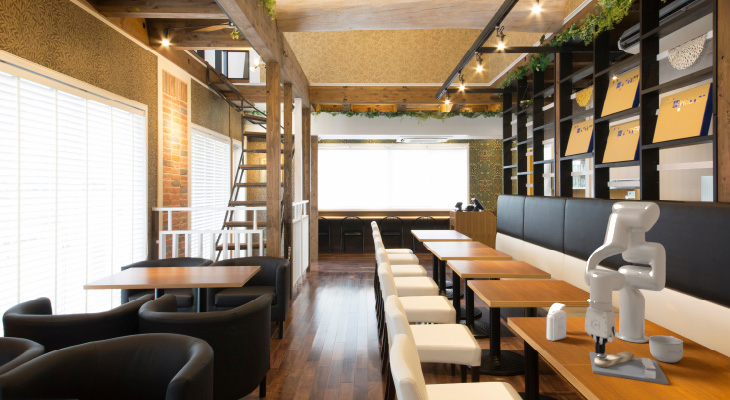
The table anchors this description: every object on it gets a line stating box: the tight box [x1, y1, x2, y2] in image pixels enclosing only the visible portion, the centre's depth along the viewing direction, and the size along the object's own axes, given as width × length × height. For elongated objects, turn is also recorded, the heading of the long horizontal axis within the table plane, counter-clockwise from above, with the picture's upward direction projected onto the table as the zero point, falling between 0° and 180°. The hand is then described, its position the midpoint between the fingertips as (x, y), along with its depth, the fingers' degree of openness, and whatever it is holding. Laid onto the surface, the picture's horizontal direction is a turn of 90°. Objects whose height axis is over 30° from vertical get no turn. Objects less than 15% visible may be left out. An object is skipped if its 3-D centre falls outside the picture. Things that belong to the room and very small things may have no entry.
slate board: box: [589, 351, 669, 386], centre depth 158 cm, size 20×22×1 cm
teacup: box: [648, 335, 684, 363], centre depth 167 cm, size 14×11×8 cm
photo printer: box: [545, 309, 567, 342], centre depth 190 cm, size 10×4×12 cm, turn 123°
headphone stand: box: [548, 302, 566, 313], centre depth 201 cm, size 5×6×12 cm
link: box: [595, 350, 635, 368], centre depth 160 cm, size 18×4×4 cm, turn 116°
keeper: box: [639, 357, 656, 379], centre depth 151 cm, size 10×3×5 cm, turn 156°
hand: (600, 353), depth 167 cm, fingers closed
